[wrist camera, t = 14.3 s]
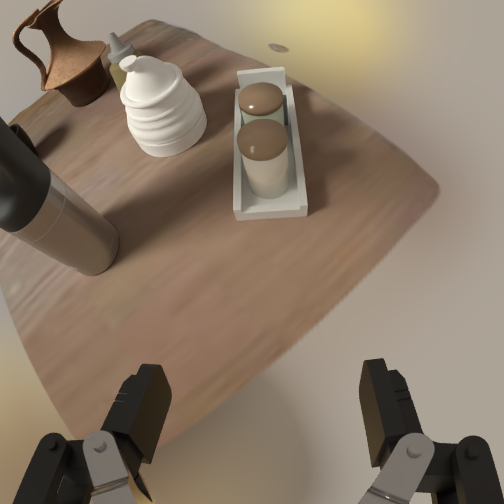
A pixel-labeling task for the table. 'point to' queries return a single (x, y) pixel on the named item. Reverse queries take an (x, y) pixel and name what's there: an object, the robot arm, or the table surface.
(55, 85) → the pitcher
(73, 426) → the table surface
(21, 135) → the mug
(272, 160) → the cream jar
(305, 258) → the table surface
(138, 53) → the squeeze bottle
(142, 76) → the honey pot
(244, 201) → the jar lane
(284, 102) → the pusher
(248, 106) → the sage jar
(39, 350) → the table surface
